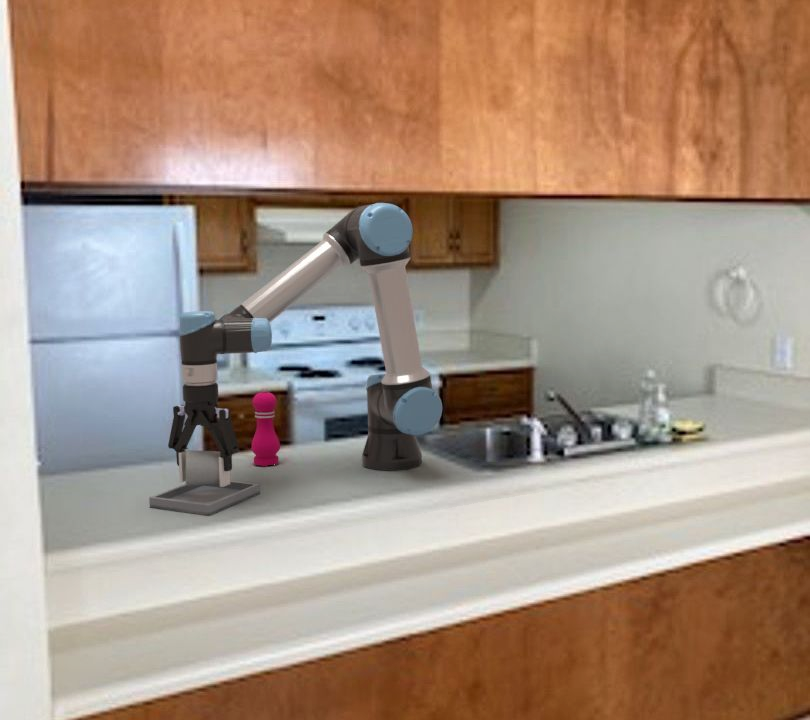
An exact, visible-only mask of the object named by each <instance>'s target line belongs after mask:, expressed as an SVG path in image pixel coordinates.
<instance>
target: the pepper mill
mask: <svg viewBox="0 0 810 720" xmlns="http://www.w3.org/2000/svg"><path fill="white" fill-rule="evenodd" d="M268 390H269V388H268V387H267V386H266V385H263V386H261V388H260V392H258V393H257V394H255V395H254V396H253V398H252V406H253V408H254V409H255V411H254V418H256V430H255V433H254V434H253V435H254V436H253V439H252V442H251V451H252V453H254V455H255V456H253V464H255V465H254V466H256V465H261V466H260V467H269V466H268V465H273V466H275V465H274V464H276V465H278V464H279V463H278V462H279V455H277V454H278V453H279V451H280V449H281V443H280V440H279V437H278V436H277V433H276V431H275V427H274V417H275V416H276V415H275V412H276V411H275V410H274V409H275V408H276V407H277V399H276V396H275V395H274V394H273V393H272V392H269V391H268ZM277 463H278V464H277Z"/></svg>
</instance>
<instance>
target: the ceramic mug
mask: <svg viewBox="0 0 810 720" xmlns="http://www.w3.org/2000/svg"><path fill="white" fill-rule="evenodd" d="M187 450H188V449H187ZM220 456H221V453H220V451H216V450H188V451H187V452H186V481H185V484H186V485H187V486H196V485H212V484H219V483H220V477H219V457H220Z"/></svg>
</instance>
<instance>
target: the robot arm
mask: <svg viewBox="0 0 810 720" xmlns="http://www.w3.org/2000/svg"><path fill="white" fill-rule="evenodd" d="M413 233H414V231H413V224H412V221H411V219H410V217H409V215H408V214H407V212H405V211H404V210H403V209H402V208H401V207H399V206H398V205H395V204H393V203H385V202H376V203H373V204H365V205H360V206H357V207H356V208H353V209H352V210H351V211H349V212H348V213H347V214H346V215H344V217H343V218H341V219H340V220H339V221H337V223H335V224H334V225H333V226H332V227H331V228H330V229H328V230H327V231H326V232H325V233H323V234H322V235H323V236H322V240H321V241H319V243H318V244H316V245H314V247H313V248H311V249H310V250H308V251H307V252H306V253H305V254H303V255H302V256H300V258H299V259H297V260H295V262H293V263H292V264H291V265H290V266H288V267H287V268H286V269H284V270H283V271H282V272H280V273H279V274H278V275H276V276H275V277H274V278H273V279H271V280H270V281H269V282H267V283H266V284H265V285H264V286H262V287H261V288H260V289H259V290H258V291H256V292H255V293H254V294H252V295H250V297H248V298H247V299H246V300H245V301H242V303H241V304H239V306H236V307H235V308H233V310H232V311H230V312H229V313H226V314H223V315H220V316H219V317H218V319H217V318H216V315H215V313H214V312H213V311H210V310H199V311H198V310H194V311H186V312H183V313H182V314H181V315H180V317H179V332H178V333H179V343H180V358H181V359H180V360H181V362H180V363H181V377H182V382H183V383H184V384H183V385H182V399H183V401H184V404H178V405H175V406H173V407H172V410H173V411H172V412H173V419H172V423H171V428H170V429H171V430H170V434H169V438H168V439H169V440H168V445H167V447H168V449H172V450H174V451H175V453H176V454H175V455H176V465H177V466H178V467H179V469H178V471H179V483H184V482H186V452H187V451H188V449H189V448H188V445H189V443H190V441H191V439H192V437H193V434H194V432H195V430H196V427H197V426H201V427H205V428H206V430H207V431H208V432H210V435H211V437H212V440H213V441H214V443H215V445H216V447H217V449H218V450H219V451H218V452H220V453H221V456H220V457H219V477H220V487H224V486H226V485H229V484H230V481H231V471H232V470H233V455H235V454H238V453H239V452H240V446H239V444H238V439H237V436H236V432H235V429H234V425H233V423H232V418H231V414H232V413H231V409H230V408H229V407H226V408H220V407H219V405H218V400H219V397H220V396H219V384H218V383H217V381H218V380H219V376H218V375H219V374H218V360H217V358H218V355H226V354H249V353H250V354H251V353H254V354H257V353H260V352H268V351H269V350H270V348H271V347H272V341H273V333H272V325H271V324H270V323H271V322H272V321H274V320H275V319H277V318H278V317H279V316H280V315H282V313H284V312H285V311H286V310H288V309H289V308H291V307H292V306H293V305H294V304H295V303H296V302H298V301H299V300H300V299H302V298H303V297H304V296H306V295H307V294H308V293H310V292H311V291H312V290H313V289H315V288H316V287H317V286H319V284H321V283H322V282H323V281H325V280H326V279H327V278H328V277H330V276H331V275H332V274H334V272H336V271H337V270H338V269H340V268H341V267H342V266H343V267H344V266H345V267H349V266H351V265H352V264H353V263H355V262H356V261H358V260H359V263H360V268H361V269H363V270H364V271H366V272H367V273H368V277H369V283H370V289H371V294H372V300H373V306H374V312H375V316H376V317H375V318H376V322H377V330H378V333H379V334H378V335H379V338H380V339H379V340H380V345H381V350H382V355H383V361H384V367H385V368H384V369H385V373H379V374H377V373H376V374H372V375H368V377H367V379H366V389H365V390H366V400H367V401H366V404H367V407H366V408H367V432H368V433H367V437H366V441H365V444H364V448H363V450H362V451H363V452H362V453H361V455H362V456H361V464H362V466H363V467H365V468H368V469H372V470H378V471H379V470H381V471H397V470H399V471H400V470H407V469H412V468H416V467H419V466H421V465H422V463H423V455H422V451H421V450H422V449H420V445H419V443H418V439H417V437H416V436H421V435H425V434H427V433H429V432H430V431H432V430H433V429H434V428H435V427H436V425H438V423H439V422H440V420H441V417H442V413H443V403H442V399H441V397H440V396H439V394H438V393H437V391H435V390H433V389H434V388H433V383H432V379H431V373H430V372H429V371H428V370H427V369H425V368H424V367H423V363H422V358H421V352H420V347H419V340H418V333H417V330H416V328H417V327H416V324H415V318H414V311H413V305H412V300H411V299H412V298H411V293H410V289H409V282H408V281H409V280H408V275H407V270H406V265H407V264H408V263H409V261H410V260H411V253H410V247H409V245H410V244H411V241H412V239H413Z"/></svg>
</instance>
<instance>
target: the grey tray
mask: <svg viewBox="0 0 810 720" xmlns="http://www.w3.org/2000/svg"><path fill="white" fill-rule="evenodd" d="M260 485H261V484H260V483H253V482H245V481H236V480H235V481H234V480H230V484H229V485H226V486H224V487H220V483H219V484H212V485H196V486H187V485H186V483H185V484H182V485H179V486H176V487H174V488H171V489H168V490H166V491H163V492H161V493H157V494H155V495H152V496H150V497H149V500H148V501H149V508H152V509H157V510H158V509H159V510H166V511H173V512H179V513H187V514H194V515H201V516H202V515H203V516H208V515H209V516H212V515H215V514H217V513H219V512H221V511H223V510H226V509H228V508H231V507H233V506H235V505H238V504H240V503H242V502H244V500H245V501H246V500H249V499H251V498H254V497H256V496H257V494H258V495H260V494H261V487H260ZM259 493H260V494H259ZM255 495H256V496H255ZM253 496H254V497H253ZM248 498H249V499H248ZM239 502H240V503H239ZM237 503H238V504H237ZM216 512H217V513H216ZM214 513H215V514H214Z"/></svg>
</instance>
